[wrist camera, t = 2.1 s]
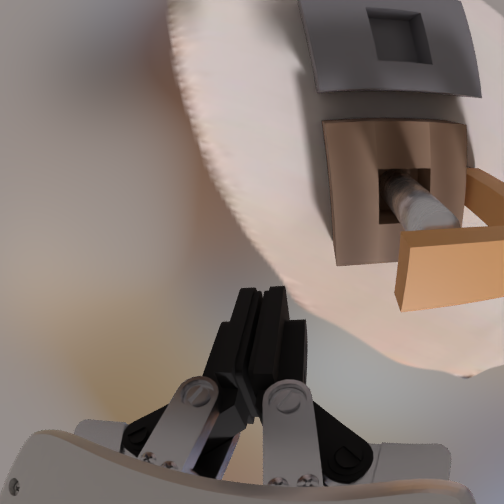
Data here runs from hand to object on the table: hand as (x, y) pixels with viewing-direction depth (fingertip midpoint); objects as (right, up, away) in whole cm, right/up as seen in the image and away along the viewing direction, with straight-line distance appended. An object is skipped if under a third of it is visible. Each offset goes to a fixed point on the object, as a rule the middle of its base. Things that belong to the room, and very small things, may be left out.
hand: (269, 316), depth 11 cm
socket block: (+12, +9, +12) cm, 19 cm away
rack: (+11, +20, +6) cm, 24 cm away
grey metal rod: (+12, +8, +11) cm, 18 cm away
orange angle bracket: (+15, +9, +11) cm, 21 cm away
